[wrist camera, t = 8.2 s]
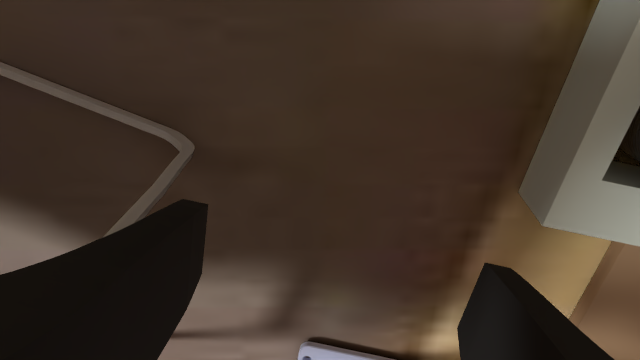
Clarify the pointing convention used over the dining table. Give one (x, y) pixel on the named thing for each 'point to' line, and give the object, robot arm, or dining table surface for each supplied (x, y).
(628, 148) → the plug
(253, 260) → the dining table surface
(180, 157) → the chair
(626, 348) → the brown square tile
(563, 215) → the port box
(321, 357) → the robot arm
